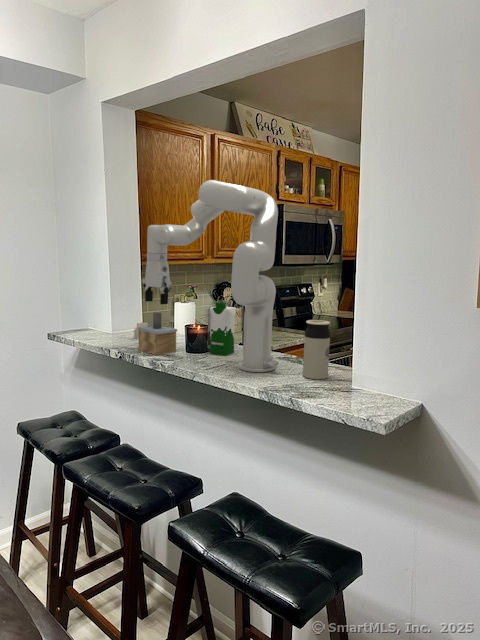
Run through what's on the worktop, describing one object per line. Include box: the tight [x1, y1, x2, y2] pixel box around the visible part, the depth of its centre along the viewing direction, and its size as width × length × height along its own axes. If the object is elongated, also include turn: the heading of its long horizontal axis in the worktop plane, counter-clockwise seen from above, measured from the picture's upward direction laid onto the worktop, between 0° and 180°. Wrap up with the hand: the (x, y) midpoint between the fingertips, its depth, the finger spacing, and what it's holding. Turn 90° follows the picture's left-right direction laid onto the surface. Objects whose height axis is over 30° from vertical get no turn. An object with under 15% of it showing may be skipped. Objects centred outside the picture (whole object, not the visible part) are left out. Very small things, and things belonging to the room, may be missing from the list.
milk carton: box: [209, 301, 237, 357], centre depth 183 cm, size 9×9×20 cm
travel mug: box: [302, 319, 331, 381], centre depth 151 cm, size 8×8×18 cm
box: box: [138, 330, 177, 356], centre depth 184 cm, size 12×9×8 cm
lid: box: [138, 311, 178, 334], centre depth 183 cm, size 13×10×8 cm
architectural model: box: [132, 322, 149, 340], centre depth 211 cm, size 3×7×7 cm, turn 134°
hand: (156, 302), depth 182 cm, fingers open, 9 cm apart
